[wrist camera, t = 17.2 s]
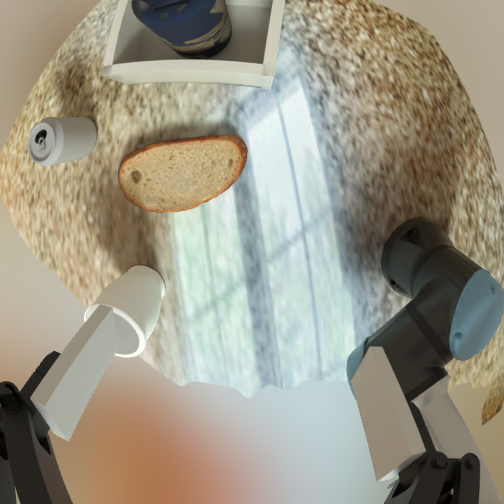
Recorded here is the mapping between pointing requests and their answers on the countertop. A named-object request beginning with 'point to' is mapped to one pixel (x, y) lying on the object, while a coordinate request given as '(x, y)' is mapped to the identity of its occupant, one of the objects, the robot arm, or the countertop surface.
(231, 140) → the bread slice
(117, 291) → the jar
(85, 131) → the can
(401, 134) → the countertop surface
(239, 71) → the open box
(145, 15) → the canister
